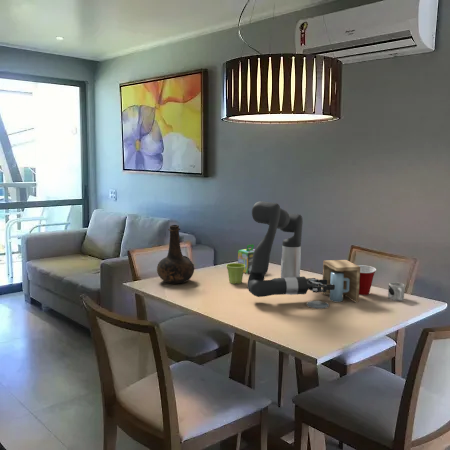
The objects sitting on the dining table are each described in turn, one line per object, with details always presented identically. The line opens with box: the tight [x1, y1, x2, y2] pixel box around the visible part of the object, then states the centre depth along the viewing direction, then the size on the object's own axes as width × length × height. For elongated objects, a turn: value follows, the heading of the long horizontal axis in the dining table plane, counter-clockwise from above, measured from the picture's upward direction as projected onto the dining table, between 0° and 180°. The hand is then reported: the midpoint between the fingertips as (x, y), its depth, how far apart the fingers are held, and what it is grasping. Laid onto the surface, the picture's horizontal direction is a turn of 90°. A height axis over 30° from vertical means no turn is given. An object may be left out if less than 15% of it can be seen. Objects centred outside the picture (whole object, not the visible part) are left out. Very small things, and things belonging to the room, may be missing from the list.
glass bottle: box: [156, 224, 195, 285], centre depth 241 cm, size 18×18×28 cm
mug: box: [387, 281, 406, 302], centre depth 216 cm, size 10×7×7 cm
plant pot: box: [225, 262, 245, 285], centre depth 242 cm, size 9×9×9 cm
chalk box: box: [237, 243, 256, 275], centre depth 266 cm, size 9×9×15 cm
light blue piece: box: [329, 271, 350, 303], centre depth 215 cm, size 8×6×12 cm
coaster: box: [306, 300, 330, 310], centre depth 207 cm, size 9×9×1 cm
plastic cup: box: [358, 264, 377, 296], centre depth 225 cm, size 11×11×12 cm
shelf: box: [321, 259, 360, 303], centre depth 218 cm, size 11×14×15 cm
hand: (330, 284), depth 214 cm, fingers open, 8 cm apart
